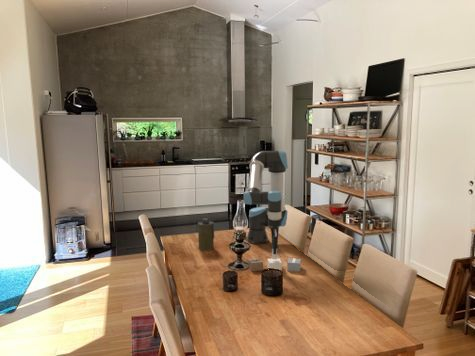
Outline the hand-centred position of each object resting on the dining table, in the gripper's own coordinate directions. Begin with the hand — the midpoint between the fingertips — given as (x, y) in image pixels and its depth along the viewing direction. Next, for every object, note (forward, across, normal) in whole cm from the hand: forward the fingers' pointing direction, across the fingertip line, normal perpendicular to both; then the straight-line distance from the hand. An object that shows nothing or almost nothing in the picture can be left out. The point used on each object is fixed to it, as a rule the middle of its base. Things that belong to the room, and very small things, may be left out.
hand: (274, 258), depth 218 cm
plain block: (+6, 0, 0) cm, 6 cm away
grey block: (+6, +1, +11) cm, 13 cm away
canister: (+6, -39, -41) cm, 57 cm away
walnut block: (+6, -1, -11) cm, 13 cm away
